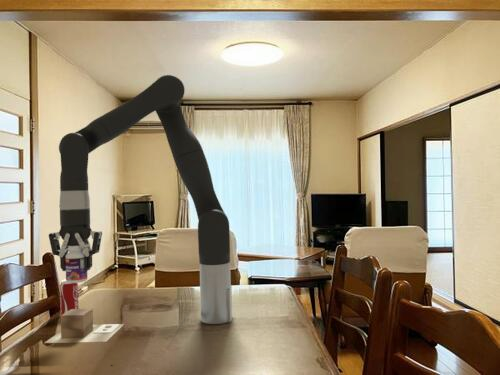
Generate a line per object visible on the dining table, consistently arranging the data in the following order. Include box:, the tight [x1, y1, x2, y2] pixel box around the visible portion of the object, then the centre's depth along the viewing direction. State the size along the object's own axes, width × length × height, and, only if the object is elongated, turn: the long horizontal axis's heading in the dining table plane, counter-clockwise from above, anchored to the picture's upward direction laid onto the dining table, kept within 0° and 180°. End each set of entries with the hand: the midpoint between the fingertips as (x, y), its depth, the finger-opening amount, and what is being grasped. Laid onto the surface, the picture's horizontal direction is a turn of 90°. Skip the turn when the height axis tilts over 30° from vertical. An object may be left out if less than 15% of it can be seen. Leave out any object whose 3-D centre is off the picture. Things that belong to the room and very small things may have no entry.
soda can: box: [59, 279, 80, 316], centre depth 130 cm, size 5×5×12 cm
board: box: [44, 323, 125, 344], centre depth 112 cm, size 16×14×1 cm
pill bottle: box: [65, 245, 88, 284], centre depth 112 cm, size 5×5×10 cm
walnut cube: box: [60, 308, 94, 339], centre depth 111 cm, size 6×6×6 cm
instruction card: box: [93, 323, 121, 333], centre depth 115 cm, size 5×7×1 cm
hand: (76, 270), depth 111 cm, fingers closed on pill bottle, 5 cm apart
